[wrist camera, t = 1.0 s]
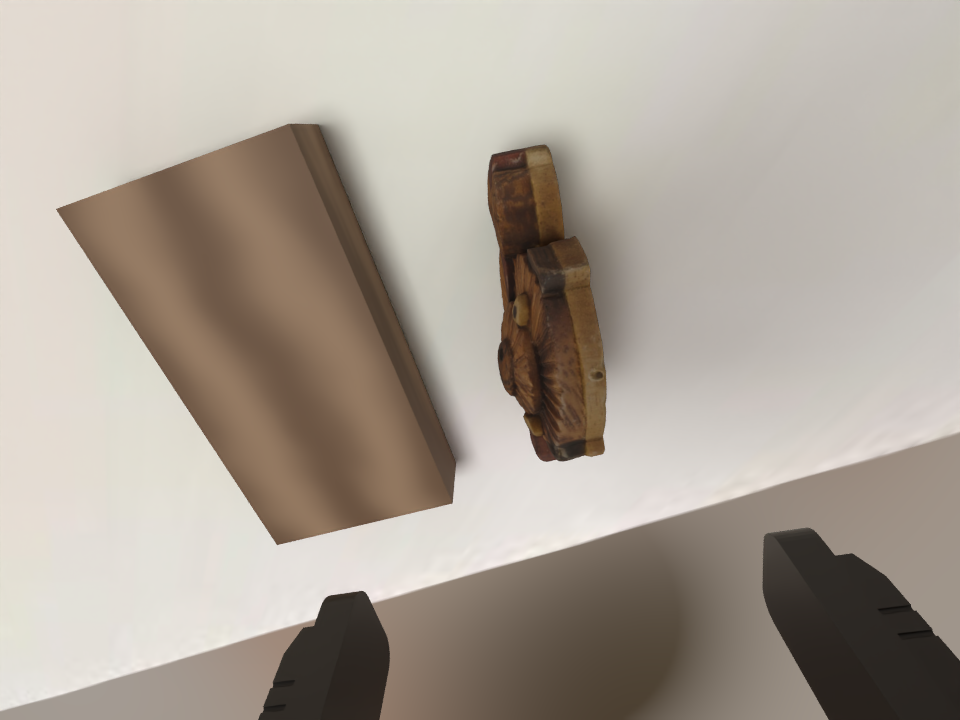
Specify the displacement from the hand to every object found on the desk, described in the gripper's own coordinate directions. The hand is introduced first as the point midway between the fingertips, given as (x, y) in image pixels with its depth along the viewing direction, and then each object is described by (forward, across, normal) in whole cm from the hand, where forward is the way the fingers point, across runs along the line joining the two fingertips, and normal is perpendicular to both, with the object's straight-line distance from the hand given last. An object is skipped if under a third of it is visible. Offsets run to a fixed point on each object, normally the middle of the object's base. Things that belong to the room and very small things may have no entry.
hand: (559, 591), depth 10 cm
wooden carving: (+21, -1, +1) cm, 21 cm away
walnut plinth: (+20, +13, +1) cm, 24 cm away
